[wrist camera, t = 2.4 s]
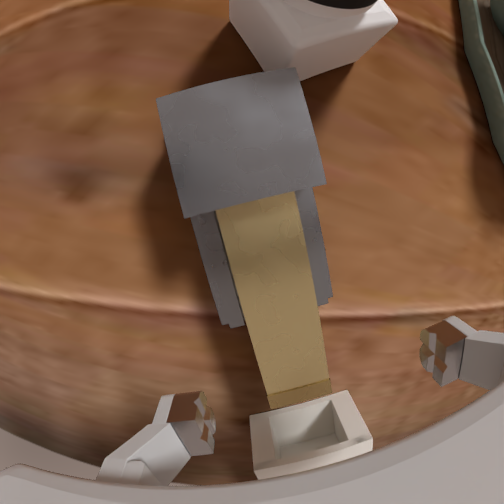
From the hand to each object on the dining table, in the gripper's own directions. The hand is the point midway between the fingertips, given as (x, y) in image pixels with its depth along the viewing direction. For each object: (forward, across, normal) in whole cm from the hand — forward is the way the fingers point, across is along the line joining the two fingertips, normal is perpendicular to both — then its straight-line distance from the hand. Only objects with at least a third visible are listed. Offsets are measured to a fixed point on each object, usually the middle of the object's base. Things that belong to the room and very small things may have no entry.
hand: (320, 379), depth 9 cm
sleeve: (+12, +1, -5) cm, 13 cm away
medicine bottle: (+12, -5, -17) cm, 21 cm away
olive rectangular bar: (+10, +1, -1) cm, 11 cm away
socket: (+12, +1, +16) cm, 19 cm away
